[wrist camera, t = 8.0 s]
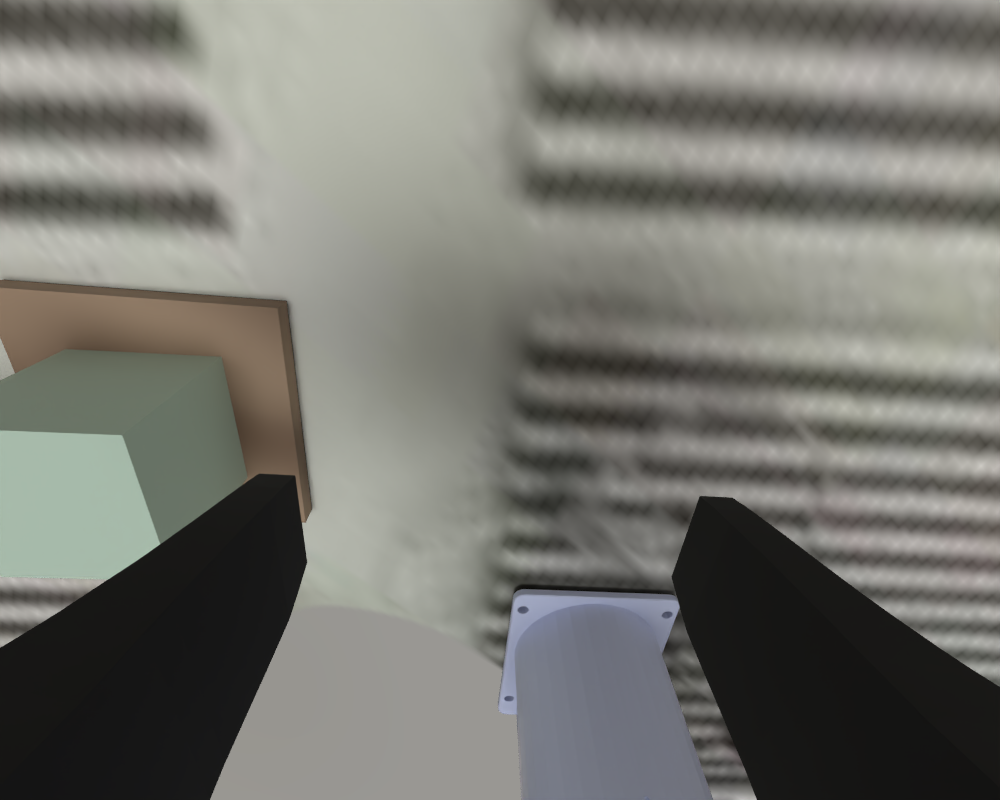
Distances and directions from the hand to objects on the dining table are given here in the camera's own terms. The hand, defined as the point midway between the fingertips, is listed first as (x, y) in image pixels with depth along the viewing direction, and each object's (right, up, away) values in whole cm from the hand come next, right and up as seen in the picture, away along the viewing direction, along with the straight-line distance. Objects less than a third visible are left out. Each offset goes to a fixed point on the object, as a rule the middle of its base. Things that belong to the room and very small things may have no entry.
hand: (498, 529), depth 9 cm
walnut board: (-12, +2, +9) cm, 15 cm away
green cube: (-12, +2, +8) cm, 15 cm away
